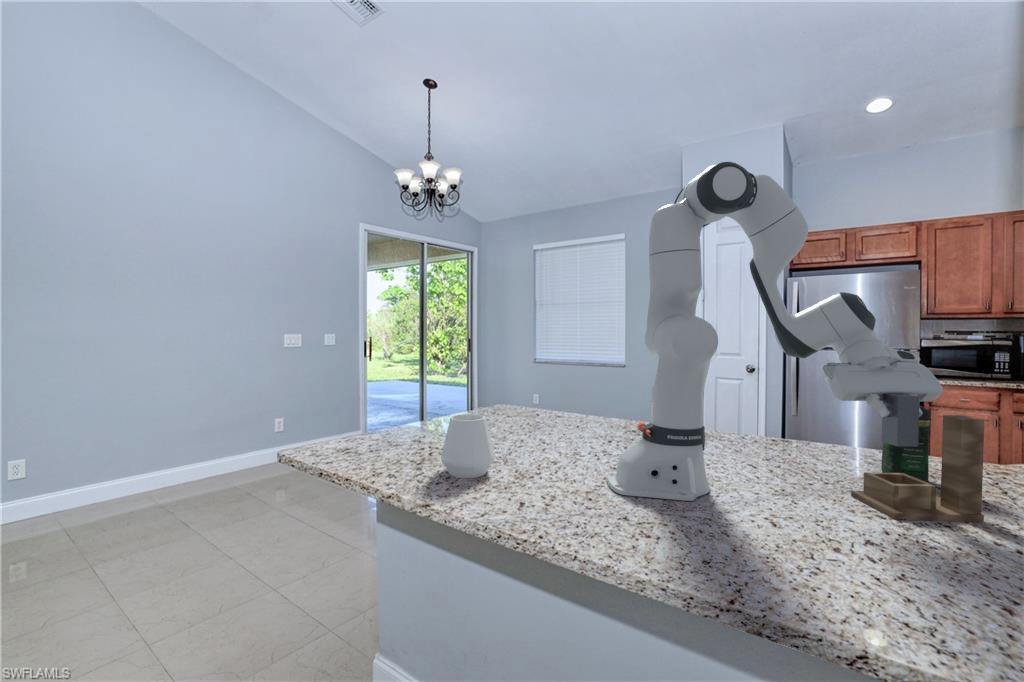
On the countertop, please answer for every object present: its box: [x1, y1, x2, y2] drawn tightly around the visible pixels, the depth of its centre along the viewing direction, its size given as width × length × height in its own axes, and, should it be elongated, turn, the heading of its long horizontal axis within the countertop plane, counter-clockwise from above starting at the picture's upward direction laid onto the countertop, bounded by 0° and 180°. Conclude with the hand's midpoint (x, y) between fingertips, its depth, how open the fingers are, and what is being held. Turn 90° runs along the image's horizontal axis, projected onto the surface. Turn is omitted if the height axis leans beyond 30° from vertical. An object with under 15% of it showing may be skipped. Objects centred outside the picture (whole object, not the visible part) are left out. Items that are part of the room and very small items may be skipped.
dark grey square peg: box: [881, 393, 920, 447], centre depth 92 cm, size 4×4×10 cm
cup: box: [440, 413, 496, 479], centre depth 113 cm, size 13×13×14 cm
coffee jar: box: [880, 405, 931, 483], centre depth 110 cm, size 10×8×19 cm
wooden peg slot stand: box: [850, 414, 986, 523], centre depth 91 cm, size 16×12×19 cm
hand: (902, 415), depth 91 cm, fingers closed on dark grey square peg, 4 cm apart
